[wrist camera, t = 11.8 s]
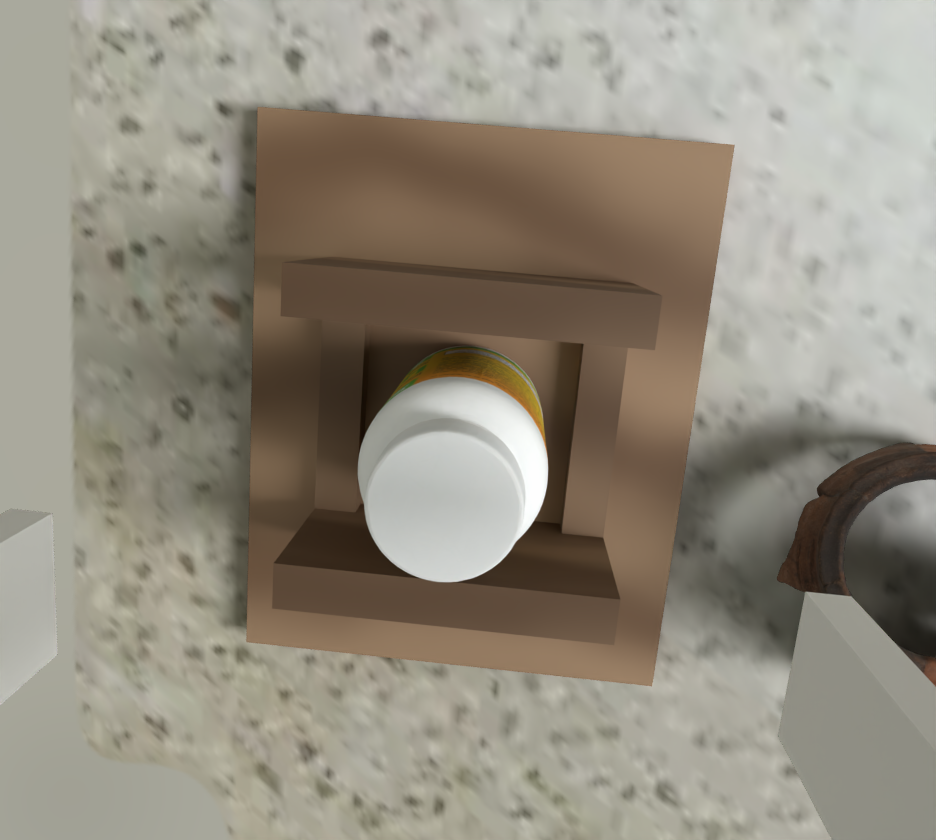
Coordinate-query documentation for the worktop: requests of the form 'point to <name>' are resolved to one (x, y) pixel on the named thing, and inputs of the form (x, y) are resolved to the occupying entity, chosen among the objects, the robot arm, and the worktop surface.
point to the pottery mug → (851, 521)
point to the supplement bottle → (454, 464)
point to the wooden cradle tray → (486, 325)
